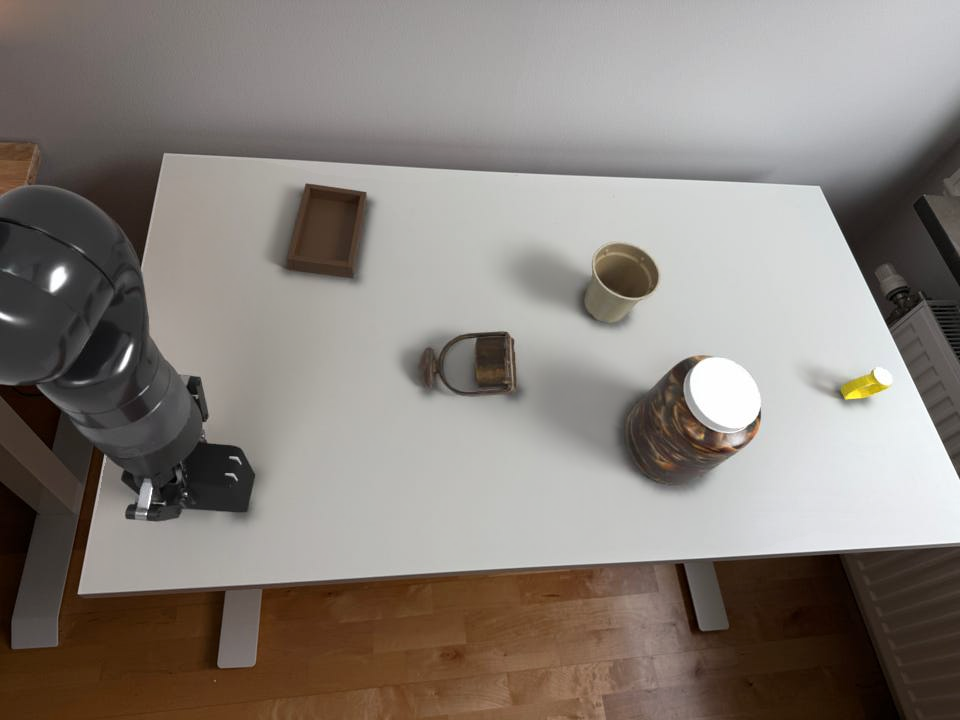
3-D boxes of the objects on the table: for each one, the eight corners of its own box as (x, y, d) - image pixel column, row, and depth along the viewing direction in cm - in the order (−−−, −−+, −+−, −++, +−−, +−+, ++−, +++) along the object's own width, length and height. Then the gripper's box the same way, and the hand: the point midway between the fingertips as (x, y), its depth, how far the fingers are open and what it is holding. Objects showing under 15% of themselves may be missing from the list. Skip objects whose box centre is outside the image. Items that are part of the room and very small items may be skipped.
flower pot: (647, 325, 86) (673, 291, 78) (589, 340, 83) (611, 305, 76) (618, 273, 90) (641, 235, 82) (563, 286, 87) (580, 248, 80)
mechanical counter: (514, 412, 70) (542, 337, 73) (413, 368, 69) (446, 295, 72) (501, 421, 77) (528, 352, 80) (409, 382, 76) (439, 314, 79)
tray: (288, 270, 81) (286, 258, 79) (307, 195, 88) (305, 182, 85) (353, 278, 82) (352, 267, 80) (366, 203, 89) (366, 191, 86)
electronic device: (162, 469, 66) (131, 435, 57) (256, 476, 67) (240, 444, 58) (151, 507, 64) (117, 478, 55) (248, 514, 65) (230, 487, 56)
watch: (838, 405, 85) (868, 387, 79) (829, 387, 86) (859, 368, 81) (873, 402, 86) (905, 383, 81) (865, 384, 87) (896, 365, 82)
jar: (727, 458, 78) (798, 412, 65) (661, 502, 73) (724, 462, 60) (669, 385, 82) (726, 328, 69) (604, 423, 77) (651, 370, 64)
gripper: (116, 324, 49) (175, 408, 64) (48, 496, 42) (131, 546, 57) (212, 335, 50) (247, 416, 65) (160, 505, 43) (213, 552, 58)
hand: (193, 476), depth 61 cm, fingers closed on electronic device, 4 cm apart
